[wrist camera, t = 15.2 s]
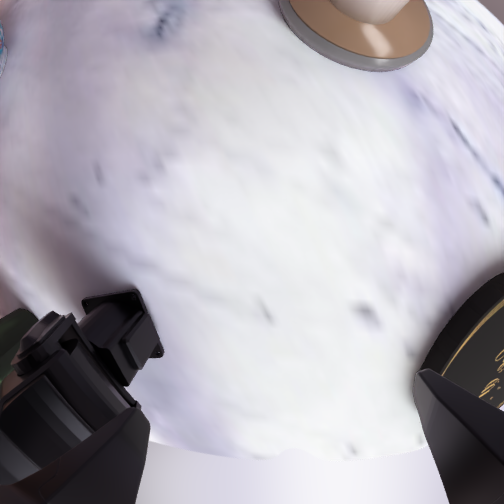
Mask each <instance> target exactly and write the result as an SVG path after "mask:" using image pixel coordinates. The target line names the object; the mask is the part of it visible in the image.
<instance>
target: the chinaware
mask: <svg viewBox="0 0 504 504" xmlns="http://www.w3.org/2000/svg"><path fill="white" fill-rule="evenodd" d="M6 59H7V48H6V46H5V45H4V32H3V26H2V23H1V20H0V77H1V75H2V72H3V70H4V67H5V63H6Z"/></svg>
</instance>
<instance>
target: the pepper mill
mask: <svg viewBox="0 0 504 504" xmlns="http://www.w3.org/2000/svg"><path fill="white" fill-rule="evenodd" d="M409 1H410V0H330V2H331V3H332V4H333V5H334V6H335V7H336V8H337V9H338V10H339V11H340V12H342V13H343V14H345V15H346V16H348V17H350V18H352V19H354V20H357V21H360V22H363V23H367V24H384V23H387V22H389V21H391V20H392V19H393V18H394V17H395V16H396V15H397V14H398V13H399V12H400V10H401V9H402V8H403V7H404V6H405V5H406V4H407V3H408V2H409Z"/></svg>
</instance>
